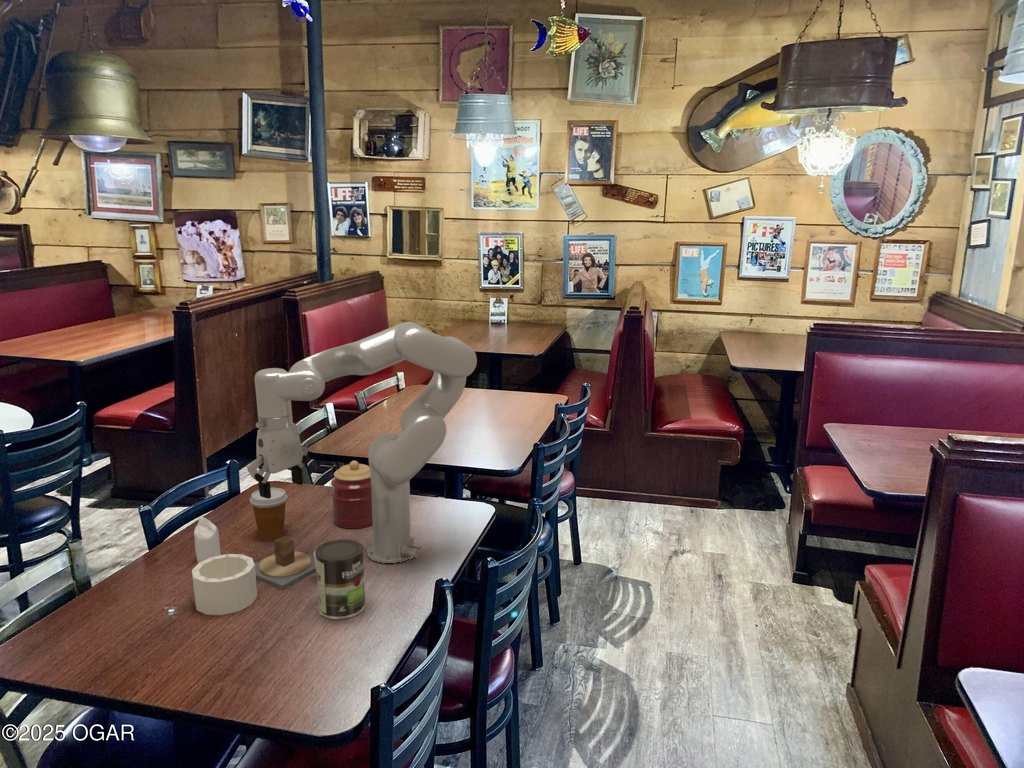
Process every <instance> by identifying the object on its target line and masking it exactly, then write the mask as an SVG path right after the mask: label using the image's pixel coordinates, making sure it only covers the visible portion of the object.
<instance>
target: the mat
mask: <svg viewBox="0 0 1024 768" xmlns="http://www.w3.org/2000/svg"><path fill="white" fill-rule="evenodd" d="M294 551H296V552H299V551H298V550H295V549H294ZM307 555H308V556H309V557H310V559H311V565H310V567H309V568H308V569H307V570H305V571H304V572H302V573H300V574H297V575H294V576H290V577H282V578H275V577H269V576H265V575H263V574H262V573H261V572H260V568H259V565H260V563H261V561H262V560H263V559H262V560H259V561H258V562H254V564H255V573H256V580H258V581H260V582H262V583H265V584H268V585H271V586H273V587H275V588H277V589H281V590H285V589H287V588H288V587H290V586H292V585H294V584H296V583H298V582H299V581H301V580H303V579H305V578H308V577H309V576H311V575H312V574H314V573H317V572H316V566H315V560H314V556H312V555H309V554H307Z"/></svg>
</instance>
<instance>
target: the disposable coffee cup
mask: <svg viewBox="0 0 1024 768" xmlns="http://www.w3.org/2000/svg"><path fill="white" fill-rule="evenodd" d="M270 489H271V498H269V499H267V498H264V497H261V496H260V493H259V489H257V490H255V491H253V492H252V493H251V497H250V498H249V503H250V504H251V505H252V511H253V515H254V518H255V519H254V520H255V525H256V527H257V528H256V530H257V533H258V537H259V539H260V540H264V541H275V540H277V539H279V538H281V537H283V536H284V532H285V531H284V530H285V528H284V527H285V519H286V517H285V516H286V505H287V504H286V503H287V499H288V495H287V493H286V491H285V489H283V488H279V487H270Z"/></svg>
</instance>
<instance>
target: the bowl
mask: <svg viewBox="0 0 1024 768" xmlns="http://www.w3.org/2000/svg"><path fill="white" fill-rule="evenodd" d="M191 576H192V577H191V578H192V584H193V595H194V605H195V608H196V611H198V612H199V613H201V614H204V615H206V616H225V615H229V614H234V613H239V612H241V611H242V610H244V609H246V608H248V607H250V606H251V605H252V604H253V603H254V602H255V600H257V598H258V589H257V588H258V587H257V579H256V573H255V562H254V559H253V557H251V556H248V555H245V554H241V553H239V554H237V553H226V554H221V555H220V556H215V557H211V558H209V559H207V560H204V561H202V562H200V563H198V562H197V564H196V565H195V566H194V567H193V568H192V569H191Z"/></svg>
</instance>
